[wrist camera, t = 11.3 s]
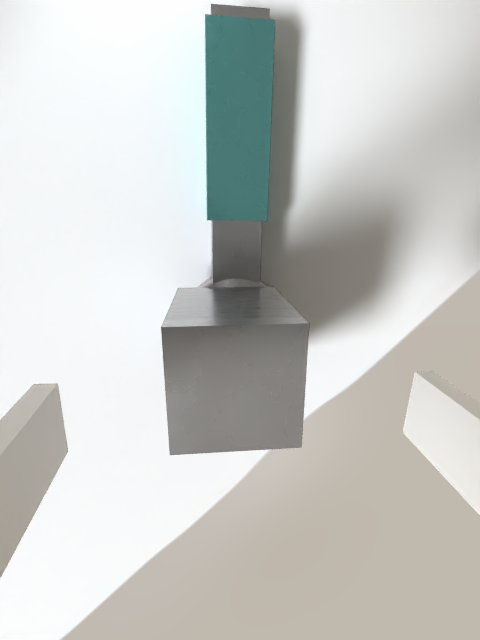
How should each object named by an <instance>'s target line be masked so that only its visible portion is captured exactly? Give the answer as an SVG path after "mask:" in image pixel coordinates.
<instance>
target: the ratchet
mask: <svg viewBox="0 0 480 640" xmlns="http://www.w3.org/2000/svg"><path fill="white" fill-rule="evenodd" d="M269 11H270V9H266V8H254V7H242V6H230V5H218V4H211V15H207V14H205V80H206V181H207V220H211V230H212V278H210V279H208V280H206V281H205V282H203V283H202V284H201V285H200V286H199V287H198V288H209V287H267V286H266V285H265V284H264V283H263V282H261V281H260V266H261V238H262V221H267V216H268V190H269V165H270V140H271V114H272V89H273V64H274V39H275V20H270V19H269Z"/></svg>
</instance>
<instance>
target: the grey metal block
mask: <svg viewBox="0 0 480 640" xmlns="http://www.w3.org/2000/svg"><path fill="white" fill-rule="evenodd" d="M161 332H162V347H163V361H164V376H165V391H166V405H167V420H168V435H169V449H170V455H180V454H197V453H214V452H231V451H248V450H265V449H282V448H299V447H302V431H303V416H304V400H305V384H306V367H307V351H308V335H309V323H308V321H307V320H306V319H305V318H304V317H303V316H302V315H301V314H300V313H299V312H298V311H297V310H296V309H295V308H294V307H293V306H292V305H291V304H290V303H289V302H288V301H287V300H286V299H285V298H284V297H283V296H282V295H281V294H280V293H279V292H278V291H277V290H276V289H275V288H274V287H273V286H271V287H209V288H178V289H177V292H176V294H175V296H174V299H173V301H172V303H171V306H170V308H169V310H168V312H167V315H166V317H165V319H164V322H163V324H162V326H161Z"/></svg>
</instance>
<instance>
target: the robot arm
mask: <svg viewBox="0 0 480 640" xmlns="http://www.w3.org/2000/svg"><path fill="white" fill-rule="evenodd" d="M403 433H404V434H405V435H406V436H407V437H408V438H409V440H410V441H411V442H412V443H413V444H414V445H415V446H416V447H417V448H418V449H419V450H420V451H421V453H422V454H423V455H424V456H425V457H426V458H427V459H428V460H429V461H430V462H431V463H432V464H433V465H434V467H435V468H436V469H437V470H438V471H439V472H440V473H441V474H442V475H443V476H444V477H445V478H446V479H447V481H448V482H449V483H450V484H451V485H452V486H453V487H454V488H455V489H456V490H457V491H458V492H459V493H460V494H461V496H462V497H463V498H464V499H465V500H466V501H467V502H468V503H469V504H470V505H471V506H472V507H473V508H474V509H475V511H476V512H477V513H478V514H479V515H480V403H479V402H477V401H476V400H474V399H473V398H471V397H470V396H469V395H467V394H466V393H464V392H463V391H461V390H460V389H458V388H457V387H455V386H454V385H452V384H451V383H449V382H448V381H447V380H445V379H444V378H442V377H441V376H439V375H438V374H436V373H435V372H433V371H428V372H415V374H414V379H413V384H412V389H411V394H410V399H409V403H408V408H407V413H406V418H405V423H404V428H403ZM67 452H68V448H67V441H66V434H65V428H64V421H63V415H62V408H61V402H60V395H59V388H58V384H34V385H33V386H32V387H31V388H30V389H29V390H28V391H27V392H26V393H25V394H24V395H23V396H22V397H21V399H20V400H19V401H18V402H17V403H16V404H15V405H14V406H13V407H12V408H11V409H10V410H9V411H8V412H7V414H6V415H5V416H4V417H3V418H2V419H1V420H0V578H1V576H2V574H3V572H4V570H5V568H6V567H7V565H8V563H9V561H10V559H11V557H12V555H13V553H14V551H15V550H16V548H17V546H18V544H19V542H20V540H21V538H22V536H23V535H24V533H25V531H26V529H27V527H28V525H29V523H30V521H31V520H32V518H33V516H34V514H35V512H36V510H37V508H38V506H39V505H40V503H41V501H42V499H43V497H44V495H45V493H46V491H47V490H48V488H49V486H50V484H51V482H52V480H53V478H54V476H55V475H56V473H57V471H58V469H59V467H60V465H61V463H62V461H63V459H64V458H65V456H66V454H67Z"/></svg>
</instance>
